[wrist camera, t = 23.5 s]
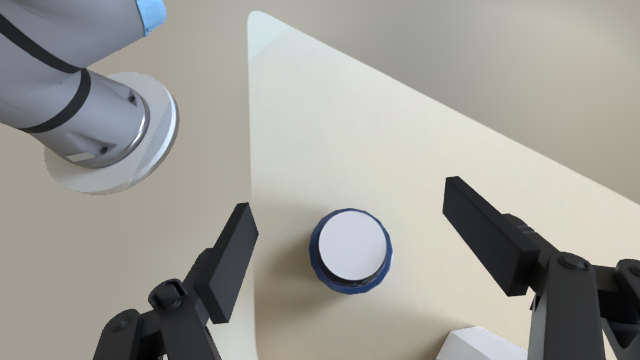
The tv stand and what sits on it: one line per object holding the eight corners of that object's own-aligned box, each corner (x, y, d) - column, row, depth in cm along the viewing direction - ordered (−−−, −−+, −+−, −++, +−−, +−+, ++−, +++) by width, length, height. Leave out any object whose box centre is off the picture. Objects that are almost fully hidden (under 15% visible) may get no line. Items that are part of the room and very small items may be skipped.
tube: (372, 241, 30) (395, 225, 16) (359, 275, 29) (373, 292, 15) (339, 227, 31) (333, 201, 17) (326, 260, 30) (308, 262, 16)
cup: (308, 276, 30) (299, 280, 25) (324, 211, 32) (320, 200, 27) (376, 295, 29) (384, 305, 23) (388, 225, 31) (398, 218, 25)
